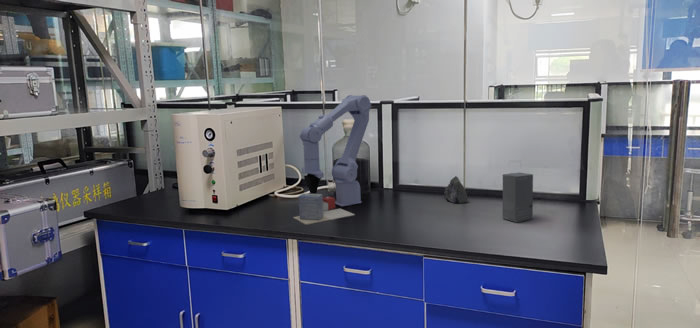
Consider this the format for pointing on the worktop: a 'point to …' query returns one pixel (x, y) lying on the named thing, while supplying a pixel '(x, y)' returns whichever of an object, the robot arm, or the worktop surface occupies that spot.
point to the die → (330, 202)
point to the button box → (325, 206)
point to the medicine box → (311, 206)
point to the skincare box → (517, 197)
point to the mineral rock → (455, 191)
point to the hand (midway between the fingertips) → (313, 193)
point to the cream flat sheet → (327, 216)
